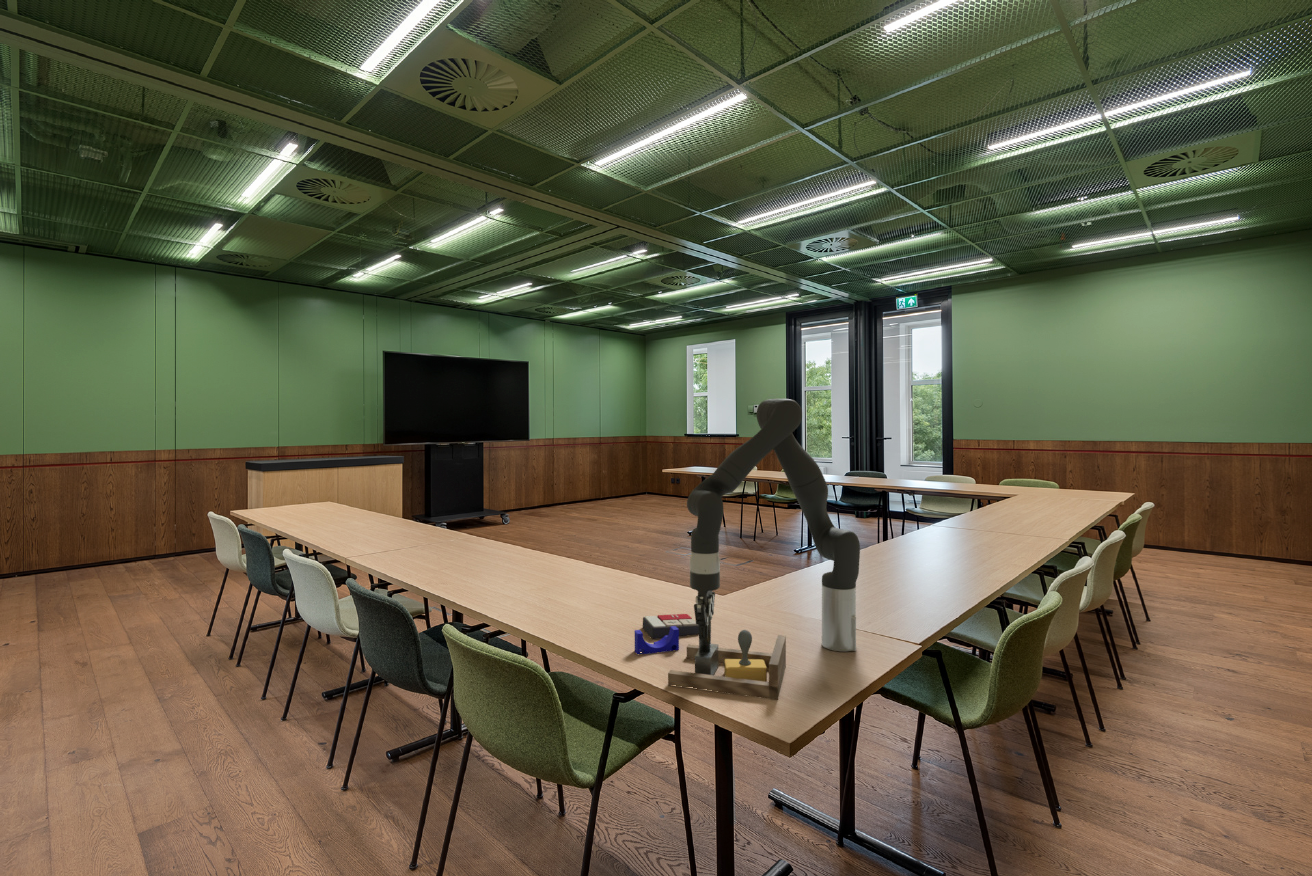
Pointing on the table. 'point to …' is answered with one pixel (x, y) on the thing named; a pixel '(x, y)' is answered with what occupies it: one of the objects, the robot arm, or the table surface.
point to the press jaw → (706, 654)
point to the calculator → (662, 623)
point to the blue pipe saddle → (662, 645)
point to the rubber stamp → (745, 662)
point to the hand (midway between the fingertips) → (704, 636)
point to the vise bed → (736, 685)
